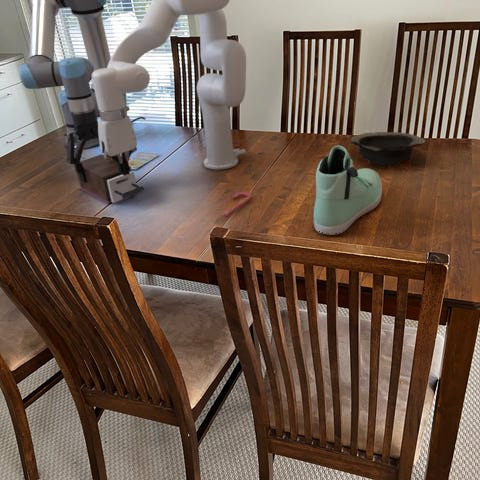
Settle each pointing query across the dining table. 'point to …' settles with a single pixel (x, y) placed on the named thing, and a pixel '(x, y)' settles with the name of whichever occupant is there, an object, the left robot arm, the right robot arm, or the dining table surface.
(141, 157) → the baking ingredient package
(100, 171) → the taupe rectangular box
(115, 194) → the drawer
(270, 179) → the dining table surface
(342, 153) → the sneaker
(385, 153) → the stone bowl
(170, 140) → the dining table surface
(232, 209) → the candy cane
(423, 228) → the dining table surface
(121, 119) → the right robot arm
